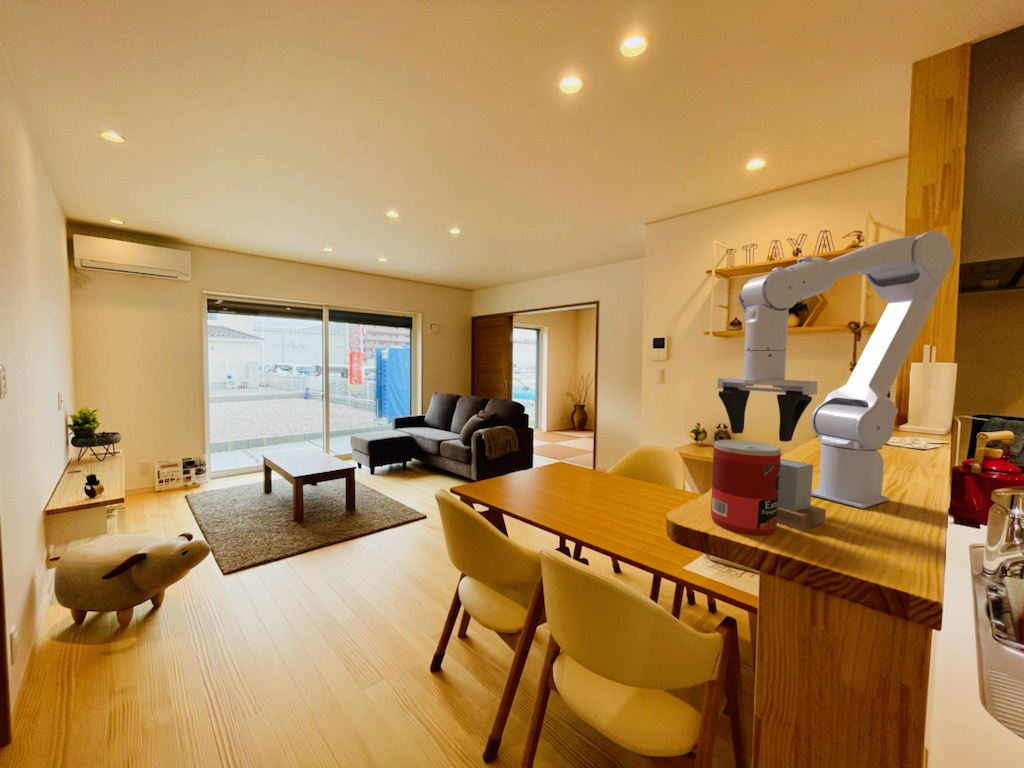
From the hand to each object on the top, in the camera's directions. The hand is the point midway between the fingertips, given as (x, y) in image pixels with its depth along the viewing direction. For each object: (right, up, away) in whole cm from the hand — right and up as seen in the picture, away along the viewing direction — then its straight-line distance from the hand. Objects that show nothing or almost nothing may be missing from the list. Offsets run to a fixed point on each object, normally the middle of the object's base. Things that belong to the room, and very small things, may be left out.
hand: (760, 436), depth 68 cm
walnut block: (0, -11, -7) cm, 14 cm away
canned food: (-8, -11, -10) cm, 17 cm away
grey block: (0, -9, -7) cm, 11 cm away
